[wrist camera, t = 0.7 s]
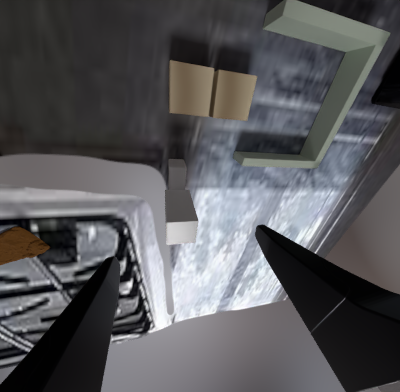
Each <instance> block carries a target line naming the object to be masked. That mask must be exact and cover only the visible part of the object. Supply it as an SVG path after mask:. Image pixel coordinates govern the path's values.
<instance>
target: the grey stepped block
mask: <svg viewBox="0 0 400 392" xmlns="http://www.w3.org/2000/svg"><path fill="white" fill-rule="evenodd" d="M186 172H187V167H186V164H185V161H184V159H168V190H165V212H166V213H165V214H166V241H167V245H171V244H183V243H194V242H195V241H196V234H197V227H198V218H197V215H196V211H195V208H194V205H193V201H192V198H191V195H190V191H189V190H185V186H186Z"/></svg>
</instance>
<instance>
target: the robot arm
mask: <svg viewBox="0 0 400 392" xmlns="http://www.w3.org/2000/svg"><path fill="white" fill-rule="evenodd" d="M372 104H376V105H381V106H387V107H393V108H398V109H400V54H399V56H398V58H397V59H396V61H395V63H394V64H393V66H392V68H391V69H390V71H389V73H388V74H387V76H386V78H385V80H384V81H383V83H382V85H381V86H380V88H379V90H378V91H377V93H376V95H375V96H374V98H373V100H372ZM255 237H256V239H257V241H258V243H259V245H260V248H261V250H262V252H263V254H264V256H265V258H266V260H267V261H268V263H269V265H270V266H271V268H272V270H273V271H274V273H275V275H276V276H277V278H278V280H279V281H280V283H281V285H282V286H283V288H284V290H285V291H286V293H287V295H288V296H289V298H290V300H291V301H292V303H293V305H294V306H295V308H296V310H297V311H298V313H299V314H300V316H301V318H302V320H303V321H304V323H305V325H306V326H307V328H308V330H309V331H310V332H311V335H312V336H313V338H314V340H315V341H316V343H317V345H318V346H319V348H320V350H321V351H322V353H323V354H324V356H325V358H326V360H327V361H328V363H329V365H330V366H331V368H332V370H333V371H334V373H335V375H336V376H337V378H338V380H339V381H340V383H341V385H342V386H343V388H344V389H345V391H346V392H360V391H363V390H368V389H372V388H376V387H378V388H379V389H380V391H381V392H400V294H397V293H393V292H390V291H388V290H385V289H383V288H381V287H379V286H377V285H375V284H373V283H371V282H368V281H367V280H364V279H362V278H360V277H358V276H356V275H354V274H352V273H350V272H348V271H346V270H344V269H342V268H340V267H338V266H336V265H335V264H333V263H331V262H329V261H327V260H326V259H324V258H322V257H320V256H318V255H317V254H315V253H313V252H311V251H309V250H308V249H306V248H304V247H302V246H301V245H299V244H297V243H295V242H294V241H292V240H290V239H288V238H286V237H285V236H283V235H281V234H279V233H278V232H276V231H274V230H272V229H270V228H269V227H267V226H265V225H258V226H257V227H256V232H255ZM119 280H120V264H119V262H118V260H117V258H116V257H115V256H113V257H108V258H106V259H105V261H104V262H103V263H102V264H101V266H100V267H99V268H98V269H97V270H96V272H95V273H94V274H93V275H92V277H91V278H90V279H89V280H88V281H87V283H86V284H85V285H84V286H83V287H82V289H81V290H80V291H79V292H78V294H77V295H76V296H75V297H74V298H73V300H72V301H71V302H70V303H69V305H68V306H67V307H66V308H65V309H64V311H63V312H62V313H61V314H60V316H59V317H58V318H57V319H56V320H55V322H54V323H53V324H52V325H51V326H50V328H49V330H47V331H46V333H45V334H44V335H43V336H42V337H41V339H40V340H39V341H38V342H37V343H36V345H35V346H34V347H33V348H32V349H31V350H30V352H29V353H28V354H27V355H26V356H25V358H24V359H23V360H22V361H21V362H20V363H19V364H18V365H17V367H16V368H15V369H14V370H13V371H12V372H11V373H10V374H9V376H8V377H7V378H6V379H5V380H4V381H3V382H2V383H1V384H0V392H101V386H102V381H103V375H104V370H105V365H106V359H107V354H108V349H109V343H110V338H111V332H112V327H113V322H114V316H115V311H116V305H117V300H118V293H119Z"/></svg>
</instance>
